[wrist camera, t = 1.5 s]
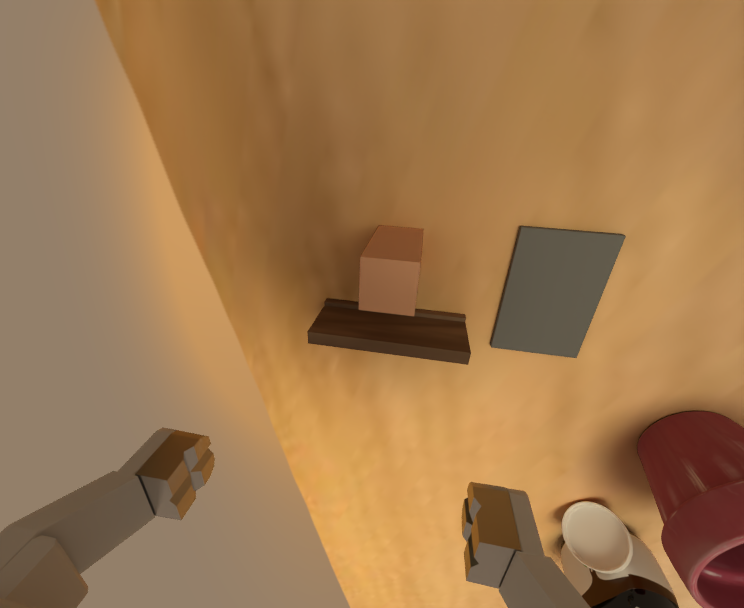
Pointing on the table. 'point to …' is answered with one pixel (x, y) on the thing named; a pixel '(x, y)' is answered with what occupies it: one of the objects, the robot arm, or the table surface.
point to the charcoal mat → (553, 289)
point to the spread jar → (610, 561)
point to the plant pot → (700, 501)
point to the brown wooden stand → (392, 332)
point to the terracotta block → (391, 270)
